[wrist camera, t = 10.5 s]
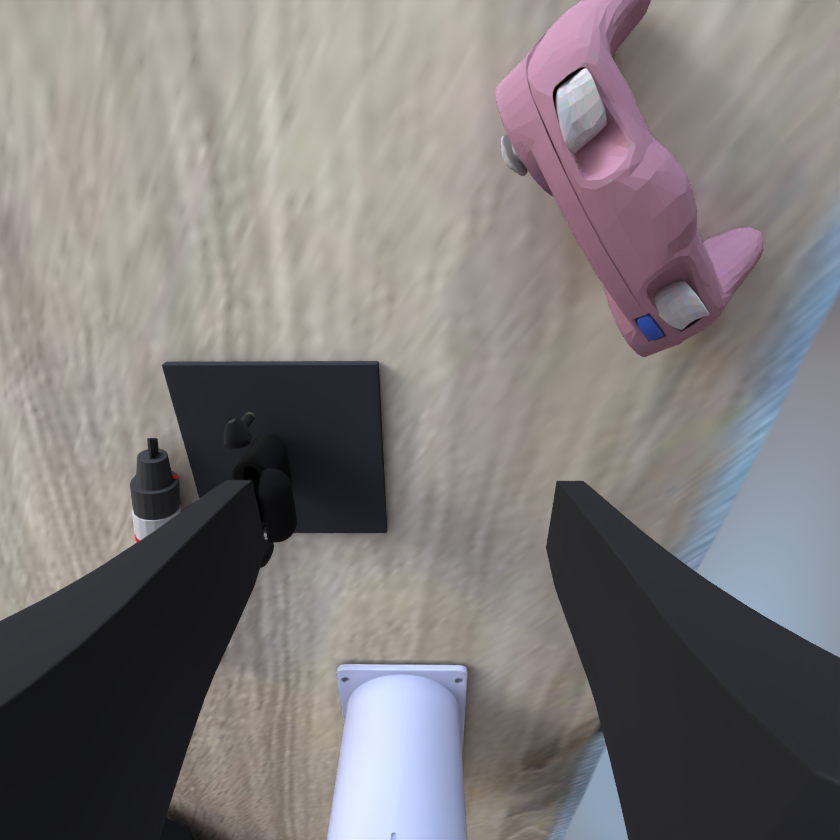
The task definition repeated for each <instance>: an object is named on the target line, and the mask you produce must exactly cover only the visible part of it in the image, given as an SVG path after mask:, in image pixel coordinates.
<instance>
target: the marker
mask: <svg viewBox="0 0 840 840" xmlns="http://www.w3.org/2000/svg"><path fill="white" fill-rule="evenodd" d="M147 440H148V450H144V451H142V452H140V453H139V454H138V456H137V472H136V476H135V477H134V478H133V479H132V480H131V483H130V488H131V497H132V506H133V509H132V515H133V523H134V532H135V541H136V543H137V542H139V541H140V540H142V539H143V538H145V537H146V536H148V535H149V534H151V533H152V532H154V531H155V530H156V529H158V528H159V527H161V526H162V525H163V524H165V523H166V522H168V521H169V520H170V519H172V518H173V517H175V516H176V515H178V514H179V513H180V512H181V503H180V499H179V481H178V477H177V475H176V474H175V473H174V472H172V471H171V468H170V463H169V459H168V454H167V452H166V451H164V450H162V449H158V439H157V438H147Z"/></svg>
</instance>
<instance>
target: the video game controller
mask: <svg viewBox="0 0 840 840" xmlns="http://www.w3.org/2000/svg"><path fill="white" fill-rule="evenodd" d="M650 1H651V0H583V1H581V2H580V3H578V4H577V5H576V6H574V7H573V8H571V9H570V10H568V11H567V12H565V13H564V14H563V15H562V16H561V17H560V18H559V19H558V20H557V21H556V22H555V23H554V24H553V25H552V26H551V27H550V29H549V30H548V31H547V32H546V33H545V35H544V36H543V37H542V38H541V39H540V40H539V42H538V43H537V44H536V45H535V46H534V47H533V49H532V50H531V51H530V52H529V53H528V55H527V56H526V57H525V58H524V59H523V60H522V61H521V62H520V63H519V64H518V65H517V66H516V67H515V68H514V69H513V70H512V72H511V73H510V74H509V75H508V76H507V77H506V78H505V79H504V80H503V81H502V82H501V83H500V84H499V85H498V86H497V88H496V103H497V106H498V109H499V112H500V115H501V118H502V122H503V125H504V128H505V131H506V134H507V136H506V135H504V136H503V137H502V138H501V149H502V155H503V159H504V161H505V163H506V164H507V166H508V167H509V168H510V169H511V170H513V171H514V172H515V173H518V174H519V175H521V176H524V175H526V174H527V170H528V171H529V173H530V174H531V175H532V177H533V178H534V179H535V180H536V182H537V183H538V184H539V185H540V186H541V187H542V188H543V189H544V190H545V191H546V192H547V193H549V194H550V195H551V196H553V197H554V198H555V200H556V202H557V204H558V206H559V208H560V210H561V212H562V214H563V216H564V218H565V220H566V222H567V223H568V225H569V227H570V229H571V231H572V232H573V234H574V236H575V238H576V240H577V241H578V243H579V245H580V247H581V249H582V250H583V252H584V254H585V256H586V257H587V259H588V261H589V262H590V264H591V266H592V267H593V269H594V270H595V272H596V274H597V275H598V277H599V279H600V280H601V282H602V283H603V287H604V290H605V294H606V297H607V300H608V303H609V307H610V309H611V311H612V314H613V316H614V319H615V321H616V323H617V325H618V327H619V329H620V331H621V334H622V335H623V337H624V338H625V340H626V341H627V343H628V344H629V346H630V347H631V348H632V349H633V350H634V351H635V352H636V353H637V354H639V355H640V356H643V357H646V356H649V355H651V354H654V353H657V352H659V351H662V350H665V349H667V348H670V347H673V346H675V345H678V344H680V343H682V342H683V341H684V340H686V339H688V338H690V337H691V336H693V335H695V334H697V333H699V332H700V331H702V330H704V329H705V328H706V327H708V326H709V325H710V324H712V323H713V322H714V321H715V320H716V319H717V318H718V317H719V316H720V314H721V313H722V311H723V310H724V308H725V306H726V305H727V303H728V302H729V300H730V298H731V297H732V295H733V294H734V293H735V291H736V290H737V289H738V287H739V286H740V285H741V283H742V282H743V281H744V279H745V278H746V277H747V275H748V274H749V273H750V271H751V270H752V269H753V267H754V266H755V264H756V263H757V261H758V260H759V258H760V256H761V254H762V251H763V238H762V234H761V232H760V231H757V230H755V229H752V228H748V227H741V228H736V229H733V230H730V231H727V232H725V233H723V234H719V235H717V236H714V237H712V238H710V239H708V240H706V241H704V242H702V240H701V238H700V236H699V233H698V229H697V209H696V204H695V199H694V194H693V190H692V187H691V184H690V182H689V180H688V177H687V175H686V172H685V171H684V170H683V168H682V167H681V166H680V165H679V163H678V162H677V161H676V159H675V158H674V157H673V155H672V154H671V153H670V152H669V151H668V150H667V149H666V148H665V147H664V146H662V145H661V144H660V143H659V142H658V141H657V140H656V139H655V138H654V137H653V136H652V134H651V132H650V130H649V128H648V126H647V124H646V121H645V119H644V117H643V115H642V113H641V111H640V109H639V106H638V104H637V102H636V100H635V98H634V96H633V94H632V91H631V90H630V88H629V86H628V84H627V83H626V81H625V79H624V77H623V76H622V74H621V72H620V70H619V69H618V67H617V65H616V64H615V62H614V60H613V58H612V57H613V55H614V53H615V52H616V50H617V48H618V47H619V46H620V45H621V43H622V42H623V41H624V40H625V38H626V37H627V36H628V35H629V34H630V32H631V31H632V30H633V29H634V27H635V26H636V25H637V24H638V23H639V21H640V20H641V19H642V18H643V16H644V15H645V13H646V11H647V9H648V6H649V4H650Z"/></svg>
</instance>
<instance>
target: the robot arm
mask: <svg viewBox="0 0 840 840" xmlns="http://www.w3.org/2000/svg"><path fill="white" fill-rule="evenodd" d="M265 549H266V543H265V539H264V534H263V529H262V525H261V520H260V515H259V511H258V506H257V501H256V496H255V492H254V487H253V482H252V480H226V481H225V482H223V483H222V484H220V485H218V486H217V487H215V488H214V489H212V490H211V491H210V492H208V493H207V494H205V495H204V496H203V497H201V498H200V499H198V500H197V501H196V502H194V503H193V504H191V505H190V506H189V507H187V508H186V509H185V510H183V511H182V512H180V513H179V514H178V515H176V516H175V517H173V518H172V519H170V520H169V521H168V522H166V523H165V524H163V525H162V526H161V527H159V528H158V529H156V530H155V531H154V532H152V533H151V534H149V535H148V536H146V537H145V538H143V539H142V540H140V541H139V542H137V543H136V544H134V545H133V546H131V547H130V548H128V549H126V550H125V551H123V552H122V553H120V554H119V555H117V556H116V557H114V558H113V559H111V560H110V561H108V562H107V563H105V564H104V565H102V566H100V567H99V568H97V569H95V570H94V571H92V572H90V573H89V574H87V575H85V576H84V577H82V578H80V579H79V580H77V581H75V582H73V583H72V584H70V585H68V586H66V587H65V588H63V589H61V590H59V591H57V592H56V593H54V594H52V595H50V596H49V597H47V598H45V599H43V600H41V601H39V602H37V603H35V604H33V605H31V606H29V607H27V608H25V609H23V610H21V611H19V612H17V613H15V614H13V615H11V616H9V617H7V618H5V619H3V620H1V621H0V840H159V839H160V836H161V832H162V829H163V826H164V822H165V819H166V815H167V812H168V808H169V805H170V802H171V799H172V796H173V792H174V789H175V786H176V783H177V780H178V777H179V774H180V770H181V767H182V764H183V761H184V758H185V755H186V752H187V748H188V746H189V743H190V740H191V737H192V734H193V731H194V728H195V725H196V722H197V719H198V716H199V713H200V711H201V708H202V705H203V702H204V699H205V697H206V694H207V692H208V689H209V687H210V684H211V682H212V679H213V677H214V675H215V672H216V670H217V668H218V666H219V664H220V661H221V659H222V657H223V655H224V653H225V650H226V648H227V646H228V644H229V642H230V639H231V637H232V635H233V633H234V631H235V628H236V626H237V624H238V622H239V620H240V617H241V615H242V613H243V611H244V608H245V606H246V604H247V602H248V599H249V597H250V595H251V592H252V590H253V588H254V585H255V582H256V579H257V576H258V573H259V570H260V566H261V563H262V559H263V556H264V552H265ZM546 549H547V554H548V558H549V563H550V568H551V572H552V577H553V581H554V585H555V589H556V592H557V595H558V597H559V600H560V603H561V606H562V609H563V612H564V614H565V617H566V620H567V623H568V626H569V628H570V631H571V634H572V637H573V639H574V642H575V645H576V648H577V651H578V653H579V656H580V659H581V662H582V664H583V667H584V670H585V673H586V675H587V678H588V681H589V684H590V687H591V691H592V694H593V697H594V700H595V703H596V707H597V711H598V715H599V719H600V723H601V726H602V730H603V734H604V738H605V742H606V746H607V750H608V754H609V758H610V762H611V766H612V770H613V774H614V779H615V783H616V787H617V791H618V795H619V799H620V804H621V808H622V812H623V817H624V821H625V826H626V830H627V835H628V839H629V840H840V658H839V657H837V656H835V655H833V654H832V653H830V652H828V651H826V650H824V649H822V648H820V647H818V646H816V645H814V644H813V643H811V642H809V641H807V640H805V639H803V638H802V637H800V636H798V635H796V634H795V633H793V632H791V631H789V630H788V629H786V628H784V627H782V626H780V625H779V624H777V623H775V622H773V621H772V620H770V619H768V618H766V617H765V616H763V615H761V614H760V613H758V612H757V611H755V610H753V609H751V608H750V607H748V606H747V605H745V604H743V603H742V602H740V601H739V600H737V599H736V598H734V597H733V596H731V595H729V594H728V593H726V592H725V591H723V590H722V589H720V588H718V587H717V586H715V585H714V584H712V583H711V582H710V581H708V580H707V579H705V578H704V577H702V576H701V575H699V574H698V573H697V572H695V571H694V570H692V569H691V568H690V567H688V566H687V565H686V564H684V563H683V562H682V561H680V560H679V559H677V558H676V557H675V556H673V555H672V554H671V553H669V552H668V551H667V550H665V549H664V548H663V547H662V546H660V545H659V544H658V543H656V542H655V541H654V540H653V539H651V538H650V537H649V536H648V535H646V534H645V533H644V532H643V531H642V530H640V529H639V528H638V527H637V526H636V525H634V524H633V523H632V522H631V521H630V520H628V519H627V518H626V517H625V516H624V515H622V514H621V513H620V512H619V511H618V510H617V509H616V508H614V507H613V506H612V505H611V504H610V503H609V502H607V501H606V500H605V499H604V498H603V497H602V496H600V495H599V494H598V493H597V492H596V491H595V490H593V489H592V488H591V487H590V486H589V485H587V484H586V483H585V482H584V481H557V483H556V489H555V495H554V502H553V508H552V514H551V521H550V527H549V533H548V539H547V546H546ZM467 677H468V674H467V668H466V667H465V666H462V665H400V664H342V665H340V666H339V667H338V670H337V679H338V686H339V693H340V700H341V707H342V714H343V721H344V731H343V738H342V744H341V751H340V758H339V764H338V771H337V777H336V784H335V790H334V797H333V803H332V810H331V816H330V823H329V829H328V836H327V840H467V827H466V811H465V795H464V779H463V762H462V753H463V739H464V723H465V708H466V692H467Z"/></svg>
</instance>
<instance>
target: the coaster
mask: <svg viewBox="0 0 840 840" xmlns="http://www.w3.org/2000/svg"><path fill="white" fill-rule="evenodd" d="M162 367H163V371H164V374H165V378H166V381H167V385H168V388H169V392H170V395H171V399H172V403H173V406H174V410H175V413H176V417H177V420H178V424H179V427H180V431H181V434H182V438H183V441H184V445H185V448H186V452H187V455H188V459H189V462H190V466H191V469H192V473H193V477H194V480H195V484H196V487H197V491H198V494H199V498H201V497H203V496H204V495H205V494H207V493H208V492H210V491H211V490H212V489H214V488H215V487H217V486H218V485H220V484H222V483H223V482H225V481H226V480H234V479H233V477H232V474H233V470H234V468H235V467H236V465H237V464H238V463H239V461H240V460H241V458H242V457H243V455H244V454H245V452H246V451H247V449H248V448H249V446H250V445H251V443H252V442H253V441H254V439H255V438H257V437H258V436H260V435H262V434H266V433H271V434H275V435H277V436H279V437H280V438H281V439H282V440H283V441H284V443H285V445H286V449H287V455H288V461H289V467H290V473H291V480H292V482H291V486H292V492H293V498H294V504H295V510H296V516H297V526H296V529H295V531H294V533H386V532H387V515H386V496H385V477H384V458H383V438H382V419H381V400H380V381H379V362H378V361H302V362H165V363H164V364H162ZM246 413H252V414H253V415H254V417H255V419H254V421H253V422H252V423H251V425H250V426H249V427H248V428H249V430H250V432H251V435H252V440H251V443H250V444H249V445H248V446H246V447H244V448H239V449H229V448H227V447H226V446H225V445H224V430H225V424H226V422H227V420H228V419H229V418H232V417H237V418H239V419H241V418H242V417H243V416H244V415H245V414H246ZM263 533H267V531H266V526H265V529H264V531H263Z"/></svg>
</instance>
